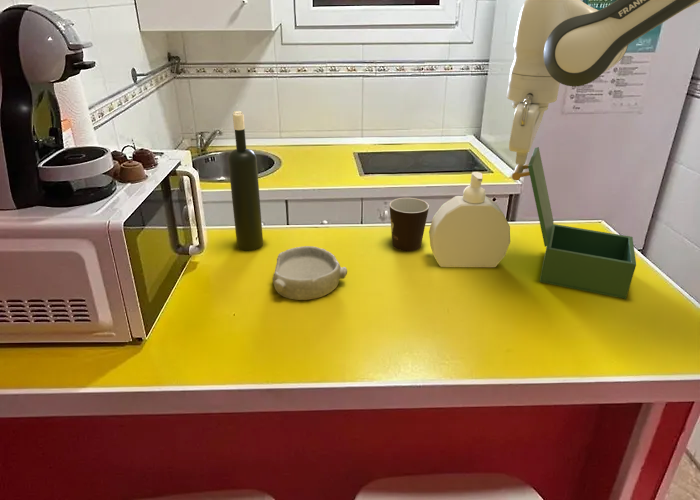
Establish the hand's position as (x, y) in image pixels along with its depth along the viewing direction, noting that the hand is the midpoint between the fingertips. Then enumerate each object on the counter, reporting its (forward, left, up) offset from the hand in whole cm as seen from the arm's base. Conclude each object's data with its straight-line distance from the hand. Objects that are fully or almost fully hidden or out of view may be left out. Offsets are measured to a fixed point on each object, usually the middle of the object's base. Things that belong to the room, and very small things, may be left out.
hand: (520, 162), depth 101 cm
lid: (-5, 0, -6) cm, 8 cm away
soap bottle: (+8, +4, -22) cm, 24 cm away
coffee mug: (+22, 0, -22) cm, 31 cm away
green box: (-15, 0, -22) cm, 27 cm away
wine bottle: (+54, +16, -22) cm, 60 cm away
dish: (+35, +25, -22) cm, 48 cm away
